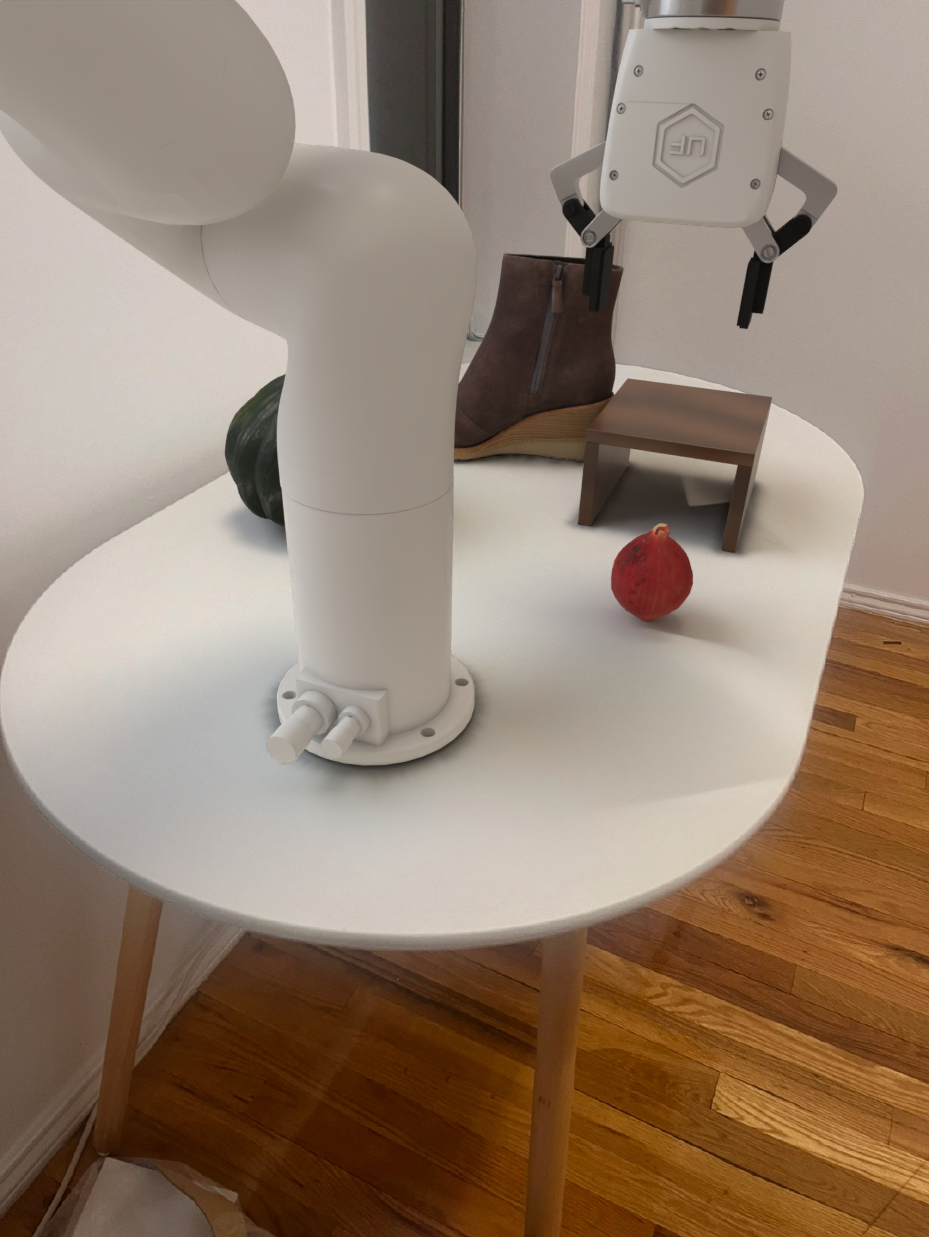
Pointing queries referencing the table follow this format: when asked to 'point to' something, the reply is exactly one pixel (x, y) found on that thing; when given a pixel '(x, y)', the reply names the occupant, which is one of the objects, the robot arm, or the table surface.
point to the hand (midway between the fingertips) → (669, 316)
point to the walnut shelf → (675, 439)
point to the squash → (257, 452)
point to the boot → (538, 364)
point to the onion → (652, 575)
